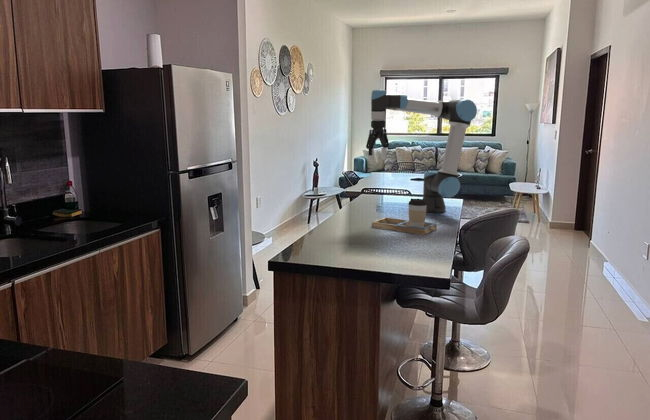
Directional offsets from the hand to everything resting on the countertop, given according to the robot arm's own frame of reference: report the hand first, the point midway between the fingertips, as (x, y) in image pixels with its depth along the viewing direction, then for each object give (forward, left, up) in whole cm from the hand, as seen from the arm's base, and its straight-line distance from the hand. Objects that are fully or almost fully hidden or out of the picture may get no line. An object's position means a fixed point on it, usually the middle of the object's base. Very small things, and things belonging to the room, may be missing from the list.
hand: (377, 160), depth 259 cm
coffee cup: (+13, +30, -31) cm, 45 cm away
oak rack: (+13, +23, -31) cm, 41 cm away
